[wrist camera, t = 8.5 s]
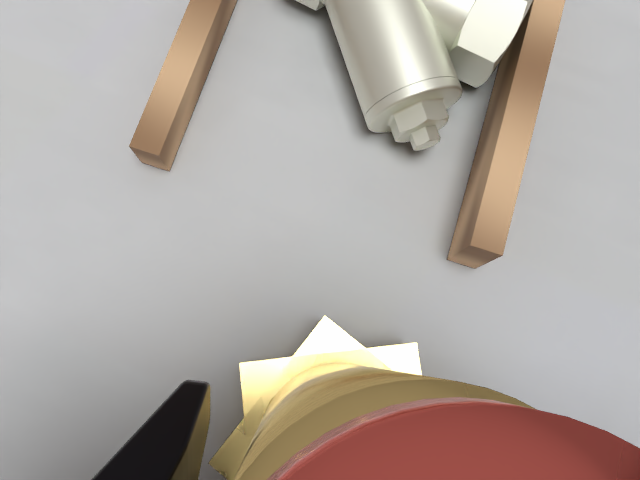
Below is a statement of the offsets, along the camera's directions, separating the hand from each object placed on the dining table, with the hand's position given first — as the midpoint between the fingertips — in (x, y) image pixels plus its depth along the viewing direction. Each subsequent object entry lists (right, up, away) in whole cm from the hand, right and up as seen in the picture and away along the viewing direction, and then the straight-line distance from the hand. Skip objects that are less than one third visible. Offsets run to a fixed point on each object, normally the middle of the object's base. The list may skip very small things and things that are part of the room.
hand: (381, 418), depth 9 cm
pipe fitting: (+1, +10, +11) cm, 15 cm away
